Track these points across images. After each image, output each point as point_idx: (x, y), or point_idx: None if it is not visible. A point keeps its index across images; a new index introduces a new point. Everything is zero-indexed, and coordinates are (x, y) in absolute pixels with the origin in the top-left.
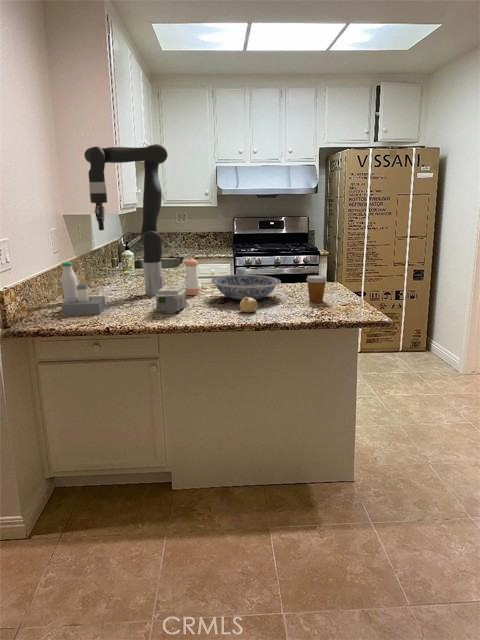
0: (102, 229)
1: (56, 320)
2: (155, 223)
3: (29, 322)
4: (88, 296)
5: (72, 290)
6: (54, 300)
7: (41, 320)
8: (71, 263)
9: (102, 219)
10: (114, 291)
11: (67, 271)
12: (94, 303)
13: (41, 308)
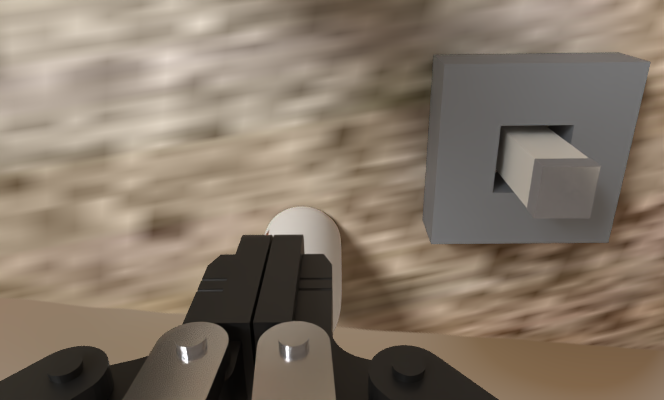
0: (304, 255)
1: (651, 226)
2: None
3: (638, 312)
4: (526, 142)
5: (336, 256)
6: None
7: (624, 280)
8: None
9: (422, 370)
10: (11, 64)
11: None
12: (641, 88)
13: (396, 330)
